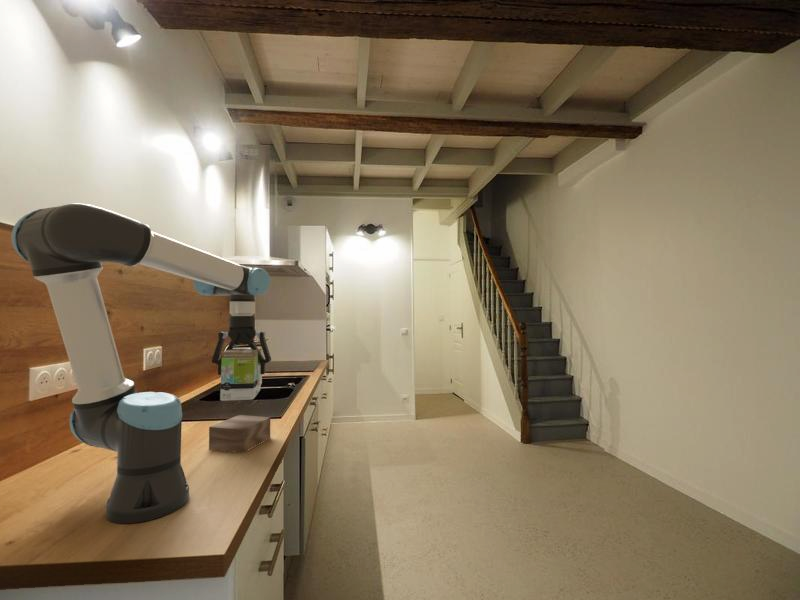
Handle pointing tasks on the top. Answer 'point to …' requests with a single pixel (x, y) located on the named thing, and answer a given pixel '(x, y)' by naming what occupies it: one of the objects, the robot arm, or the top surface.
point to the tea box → (239, 374)
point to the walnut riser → (239, 433)
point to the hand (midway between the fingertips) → (241, 385)
